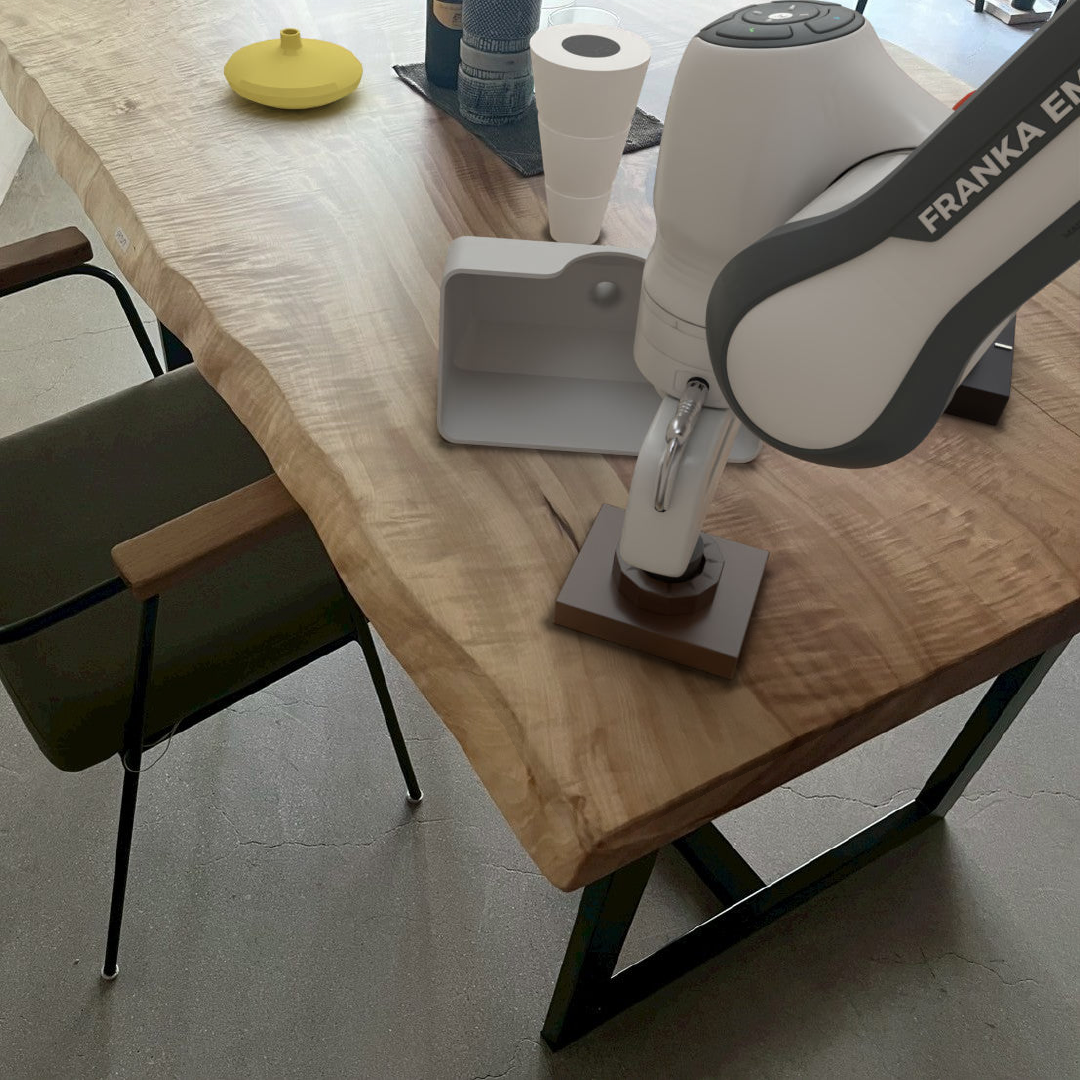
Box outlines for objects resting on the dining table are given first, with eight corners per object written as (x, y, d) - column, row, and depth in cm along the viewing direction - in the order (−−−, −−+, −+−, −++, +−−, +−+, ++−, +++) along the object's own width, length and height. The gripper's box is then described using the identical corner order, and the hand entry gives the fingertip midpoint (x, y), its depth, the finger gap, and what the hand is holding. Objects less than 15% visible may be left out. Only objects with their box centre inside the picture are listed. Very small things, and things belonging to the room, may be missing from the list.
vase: (238, 65, 127) (228, 3, 122) (368, 70, 129) (364, 9, 124) (217, 122, 117) (206, 57, 111) (360, 126, 118) (356, 62, 113)
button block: (763, 572, 73) (776, 532, 70) (731, 680, 66) (743, 640, 63) (599, 524, 75) (605, 483, 72) (552, 623, 68) (556, 582, 66)
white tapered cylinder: (649, 235, 104) (676, 49, 91) (580, 275, 98) (598, 81, 86) (569, 196, 109) (584, 14, 96) (498, 231, 103) (504, 42, 90)
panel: (904, 312, 97) (915, 282, 95) (1004, 336, 95) (1017, 306, 93) (886, 397, 88) (897, 367, 85) (996, 425, 86) (1010, 395, 84)
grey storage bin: (740, 344, 92) (770, 213, 83) (759, 464, 81) (797, 327, 72) (456, 324, 92) (456, 190, 83) (436, 442, 80) (433, 301, 72)
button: (706, 549, 69) (710, 530, 68) (691, 591, 66) (695, 572, 65) (648, 532, 70) (651, 513, 68) (630, 572, 67) (634, 553, 66)
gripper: (734, 467, 48) (690, 658, 57) (811, 256, 61) (765, 439, 71) (602, 433, 49) (581, 625, 59) (706, 233, 63) (675, 416, 72)
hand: (683, 521), depth 65 cm, fingers closed
